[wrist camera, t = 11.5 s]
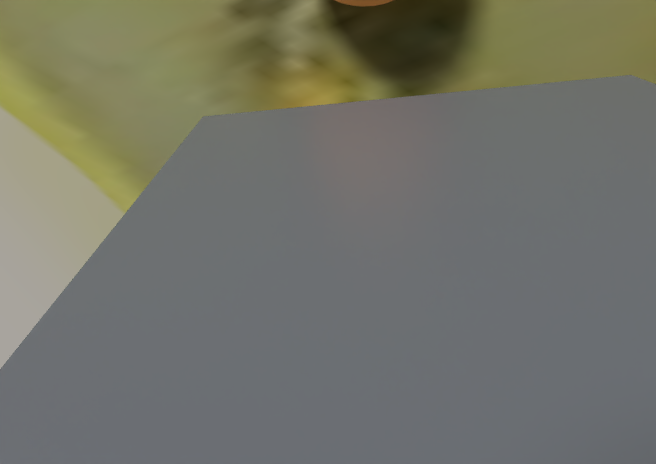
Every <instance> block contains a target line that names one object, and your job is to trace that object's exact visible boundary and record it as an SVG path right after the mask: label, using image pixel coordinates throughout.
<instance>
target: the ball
mask: <svg viewBox="0 0 656 464" xmlns="http://www.w3.org/2000/svg"><path fill="white" fill-rule="evenodd" d="M335 1H337V2H340V3H343V4H347V5H352V6H362V7H364V6H376V5H381V4H385V3H388V2H391V1H394V0H335Z"/></svg>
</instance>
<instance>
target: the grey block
mask: <svg viewBox="0 0 656 464" xmlns="http://www.w3.org/2000/svg"><path fill="white" fill-rule="evenodd" d="M0 464H656V84H654V83H651V82H648V81H646V80H643V79H640V78H638V77H635V76H632V75H626V76H616V77H606V78H596V79H585V80H575V81H565V82H554V83H544V84H534V85H524V86H513V87H503V88H493V89H482V90H472V91H462V92H451V93H441V94H431V95H421V96H410V97H400V98H390V99H379V100H369V101H359V102H348V103H338V104H328V105H318V106H307V107H297V108H287V109H276V110H266V111H256V112H246V113H235V114H225V115H215V116H204V117H202V119H201V120H200V121H199V122H198V124H197V125H196V126H195V127H194V129H193V130H192V131H191V132H190V134H189V135H188V136H187V137H186V139H185V140H184V141H183V142H182V144H181V145H180V146H179V147H178V148H177V150H176V151H175V152H174V153H173V155H172V156H171V157H170V158H169V160H168V161H167V162H166V163H165V165H164V166H163V167H162V168H161V170H160V171H159V172H158V173H157V175H156V176H155V177H154V178H153V180H152V181H151V182H150V183H149V185H148V186H147V187H146V188H145V190H144V191H143V192H142V193H141V195H140V196H139V197H138V198H137V200H136V201H135V202H134V203H133V205H132V206H131V207H130V208H129V210H128V211H127V212H126V213H125V215H124V216H123V217H122V218H121V220H120V221H119V222H118V223H117V225H116V226H115V227H114V228H113V230H112V231H111V232H110V233H109V234H108V236H107V237H106V238H105V239H104V241H103V242H102V243H101V244H100V246H99V247H98V248H97V249H96V251H95V252H94V253H93V255H92V256H91V257H90V258H89V259H88V261H87V262H86V263H85V264H84V266H83V267H82V268H81V269H80V271H79V272H78V273H77V274H76V276H75V277H74V278H73V279H72V281H71V282H70V283H69V284H68V286H67V287H66V288H65V289H64V291H63V292H62V293H61V294H60V296H59V297H58V298H57V299H56V301H55V302H54V303H53V304H52V306H51V307H50V308H49V309H48V311H47V312H46V313H45V314H44V315H43V317H42V318H41V319H40V321H39V322H38V323H37V324H36V326H35V327H34V328H33V329H32V331H31V332H30V333H29V334H28V335H27V337H26V338H25V339H24V340H23V342H22V343H21V344H20V345H19V347H18V348H17V349H16V350H15V352H14V353H13V354H12V355H11V357H10V358H9V359H8V360H7V362H6V363H5V364H4V365H3V367H2V368H1V369H0Z"/></svg>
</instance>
